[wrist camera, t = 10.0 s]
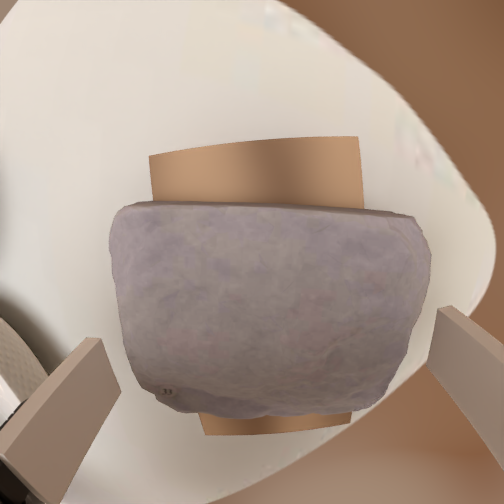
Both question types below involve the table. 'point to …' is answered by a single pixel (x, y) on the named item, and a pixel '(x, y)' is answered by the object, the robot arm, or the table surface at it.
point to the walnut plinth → (264, 191)
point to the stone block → (266, 304)
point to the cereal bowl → (16, 371)
